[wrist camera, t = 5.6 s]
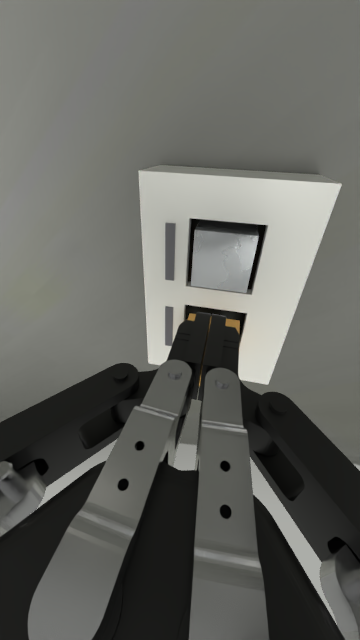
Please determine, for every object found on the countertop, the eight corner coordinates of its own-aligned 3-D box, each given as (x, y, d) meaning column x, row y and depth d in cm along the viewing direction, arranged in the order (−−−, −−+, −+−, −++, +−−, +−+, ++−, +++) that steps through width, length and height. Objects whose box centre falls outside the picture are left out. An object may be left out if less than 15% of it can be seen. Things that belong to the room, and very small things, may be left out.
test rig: (160, 164, 23) (137, 170, 18) (319, 174, 21) (342, 184, 16) (161, 332, 35) (147, 364, 30) (264, 349, 33) (268, 385, 28)
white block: (202, 216, 23) (194, 230, 19) (256, 221, 22) (258, 236, 18) (198, 265, 26) (190, 285, 22) (245, 271, 25) (246, 293, 21)
